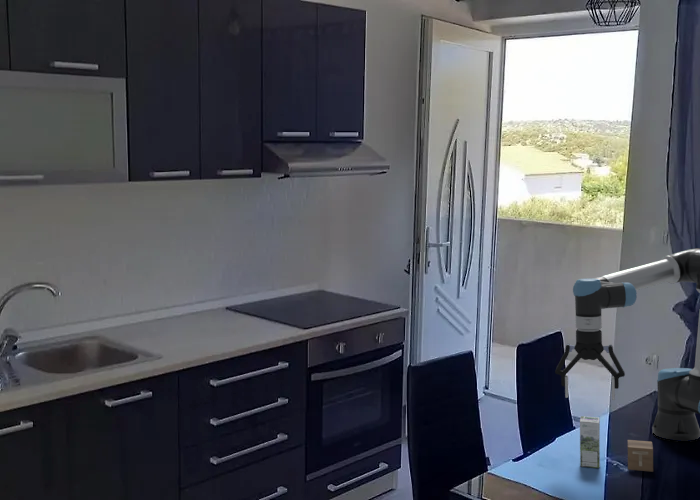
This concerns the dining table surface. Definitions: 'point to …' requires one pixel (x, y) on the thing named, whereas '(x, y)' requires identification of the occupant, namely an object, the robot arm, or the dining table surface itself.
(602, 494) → the dining table surface
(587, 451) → the syrup box
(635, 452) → the letter cube
